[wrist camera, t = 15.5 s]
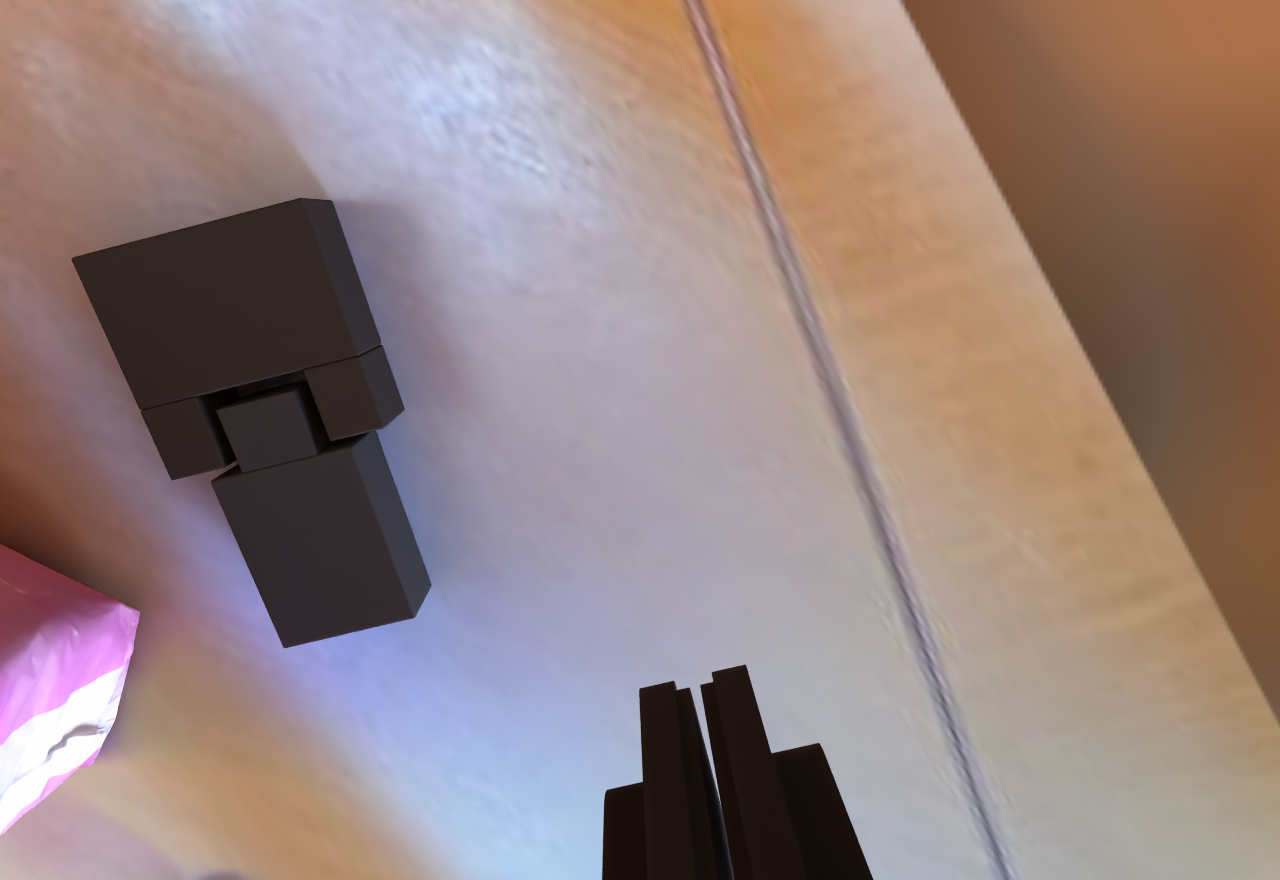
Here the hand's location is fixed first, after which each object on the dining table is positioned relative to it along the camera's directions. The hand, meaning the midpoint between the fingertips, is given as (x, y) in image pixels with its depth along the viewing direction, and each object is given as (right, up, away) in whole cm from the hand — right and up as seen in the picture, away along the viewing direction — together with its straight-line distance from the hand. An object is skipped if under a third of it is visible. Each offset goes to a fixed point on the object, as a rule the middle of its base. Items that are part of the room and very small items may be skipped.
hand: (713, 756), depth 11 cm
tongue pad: (-15, +2, +22) cm, 27 cm away
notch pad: (-17, +9, +20) cm, 28 cm away
